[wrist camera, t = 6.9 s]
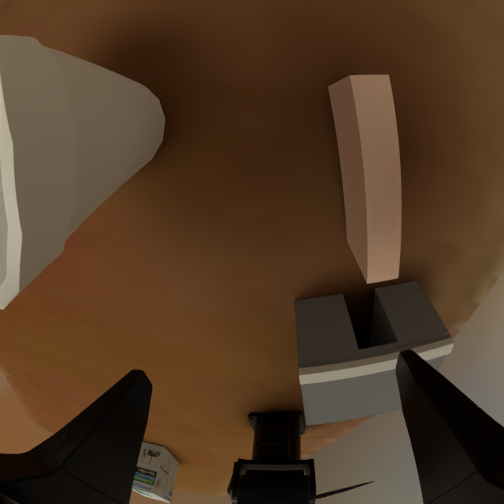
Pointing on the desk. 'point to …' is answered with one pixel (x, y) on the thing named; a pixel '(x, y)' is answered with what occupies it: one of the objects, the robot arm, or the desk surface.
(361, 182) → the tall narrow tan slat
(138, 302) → the desk surface
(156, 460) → the light bulb box
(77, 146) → the foam cup
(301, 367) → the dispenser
